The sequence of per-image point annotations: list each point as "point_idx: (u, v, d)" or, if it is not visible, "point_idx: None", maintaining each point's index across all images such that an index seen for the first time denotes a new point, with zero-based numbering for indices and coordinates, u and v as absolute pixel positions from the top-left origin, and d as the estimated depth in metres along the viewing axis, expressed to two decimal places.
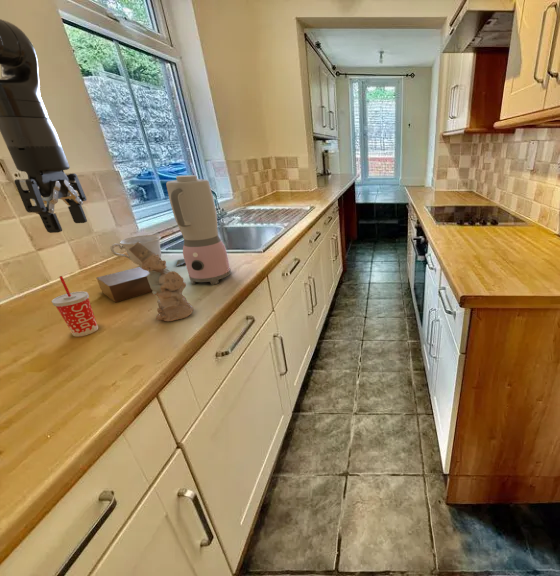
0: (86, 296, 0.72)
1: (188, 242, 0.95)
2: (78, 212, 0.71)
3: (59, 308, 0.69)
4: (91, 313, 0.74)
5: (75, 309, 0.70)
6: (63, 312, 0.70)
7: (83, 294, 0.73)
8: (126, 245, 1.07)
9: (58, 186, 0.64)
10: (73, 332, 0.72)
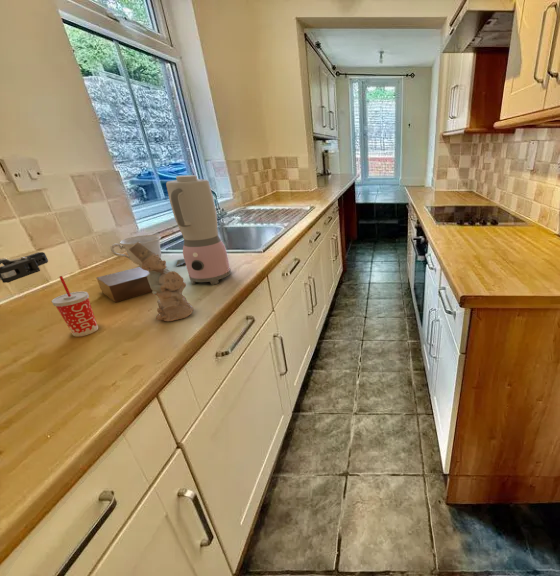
0: (86, 296, 0.72)
1: (188, 242, 0.95)
2: None
3: (59, 308, 0.69)
4: (91, 313, 0.74)
5: (75, 309, 0.70)
6: (63, 312, 0.70)
7: (83, 294, 0.73)
8: (126, 245, 1.07)
9: None
10: (73, 332, 0.72)
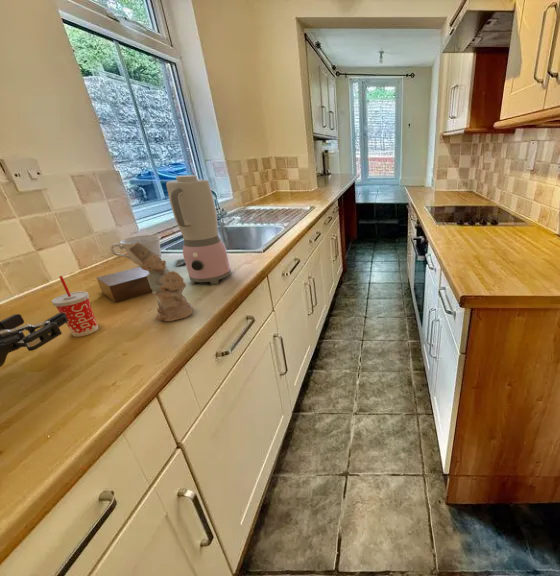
0: (86, 296, 0.72)
1: (188, 242, 0.95)
2: None
3: (59, 308, 0.69)
4: (91, 313, 0.74)
5: (75, 309, 0.70)
6: (63, 312, 0.70)
7: (83, 294, 0.73)
8: (126, 245, 1.07)
9: None
10: (73, 332, 0.72)
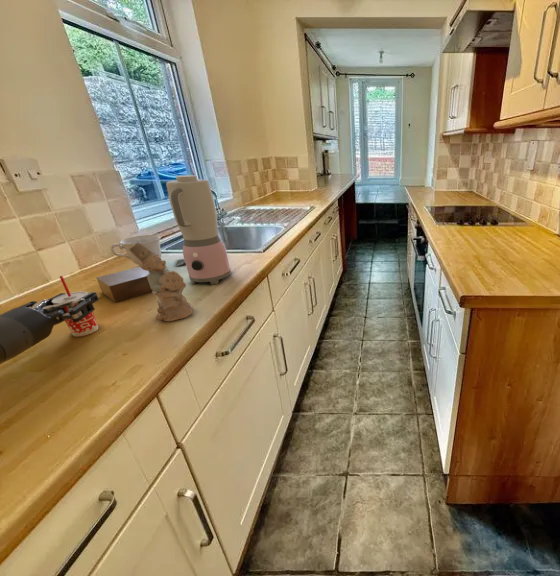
0: None
1: (188, 242, 0.95)
2: None
3: None
4: (91, 313, 0.74)
5: None
6: None
7: (83, 294, 0.73)
8: (126, 245, 1.07)
9: None
10: (73, 332, 0.72)
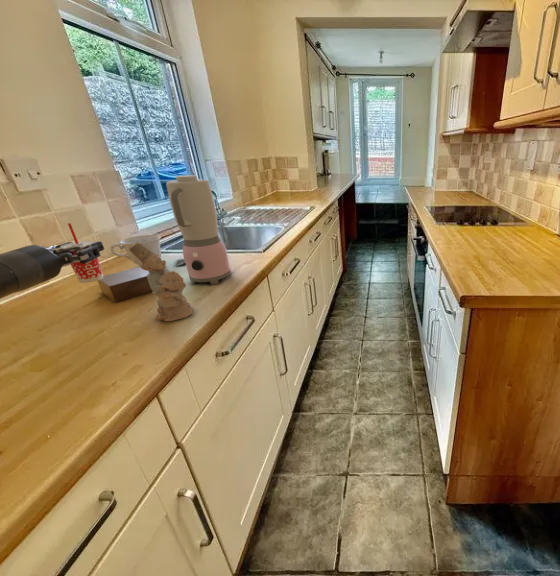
0: None
1: (188, 242, 0.95)
2: None
3: None
4: (97, 261, 0.78)
5: None
6: None
7: (90, 243, 0.77)
8: (126, 245, 1.07)
9: None
10: (80, 278, 0.77)
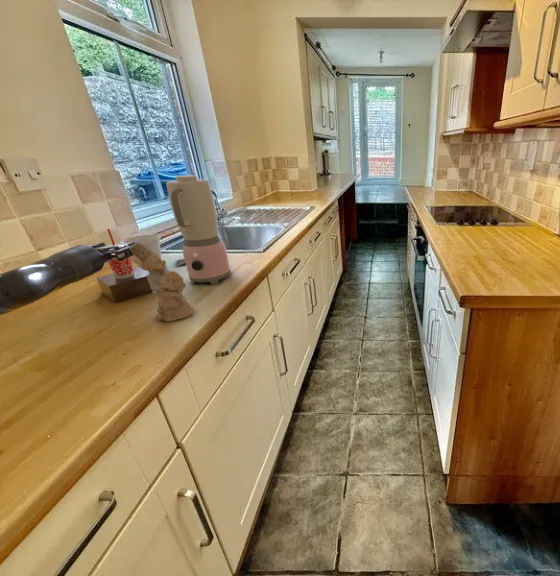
0: None
1: (188, 242, 0.95)
2: None
3: None
4: (130, 261, 0.92)
5: None
6: None
7: None
8: None
9: None
10: (116, 275, 0.91)
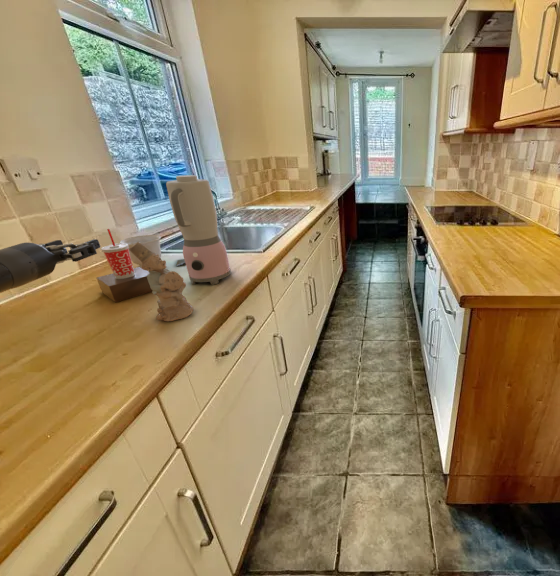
0: (127, 246, 0.91)
1: (188, 242, 0.95)
2: None
3: (107, 254, 0.88)
4: (130, 261, 0.92)
5: (118, 256, 0.89)
6: (110, 257, 0.88)
7: (124, 245, 0.91)
8: None
9: None
10: (116, 275, 0.91)
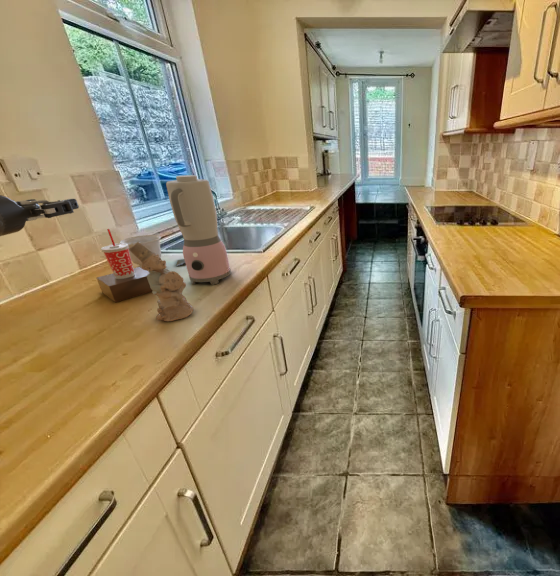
0: (127, 246, 0.91)
1: (188, 242, 0.95)
2: None
3: (107, 254, 0.88)
4: (130, 261, 0.92)
5: (118, 256, 0.89)
6: (110, 257, 0.88)
7: (124, 245, 0.91)
8: None
9: None
10: (116, 275, 0.91)
